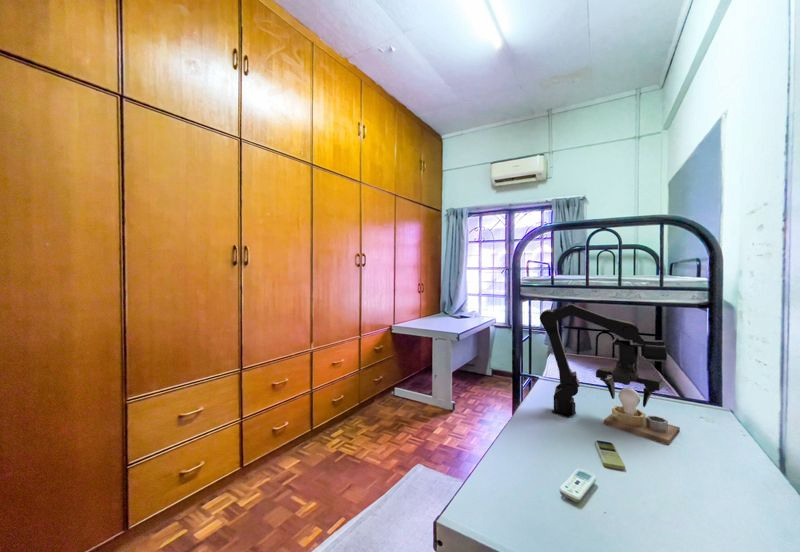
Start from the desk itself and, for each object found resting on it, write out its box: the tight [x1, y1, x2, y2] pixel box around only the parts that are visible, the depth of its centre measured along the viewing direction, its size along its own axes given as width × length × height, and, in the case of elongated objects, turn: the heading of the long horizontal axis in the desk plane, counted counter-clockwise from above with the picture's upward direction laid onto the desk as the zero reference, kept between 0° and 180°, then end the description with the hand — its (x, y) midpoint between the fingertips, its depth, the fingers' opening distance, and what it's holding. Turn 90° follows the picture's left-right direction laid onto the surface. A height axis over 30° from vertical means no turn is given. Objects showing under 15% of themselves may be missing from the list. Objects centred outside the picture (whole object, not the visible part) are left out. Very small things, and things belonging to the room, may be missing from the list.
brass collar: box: [611, 405, 647, 426], centre depth 112 cm, size 9×9×3 cm
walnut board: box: [603, 413, 681, 446], centre depth 110 cm, size 18×13×2 cm
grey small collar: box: [646, 415, 669, 432], centre depth 106 cm, size 5×5×3 cm
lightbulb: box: [618, 387, 641, 416], centre depth 112 cm, size 6×6×11 cm
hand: (628, 402), depth 112 cm, fingers open, 9 cm apart
